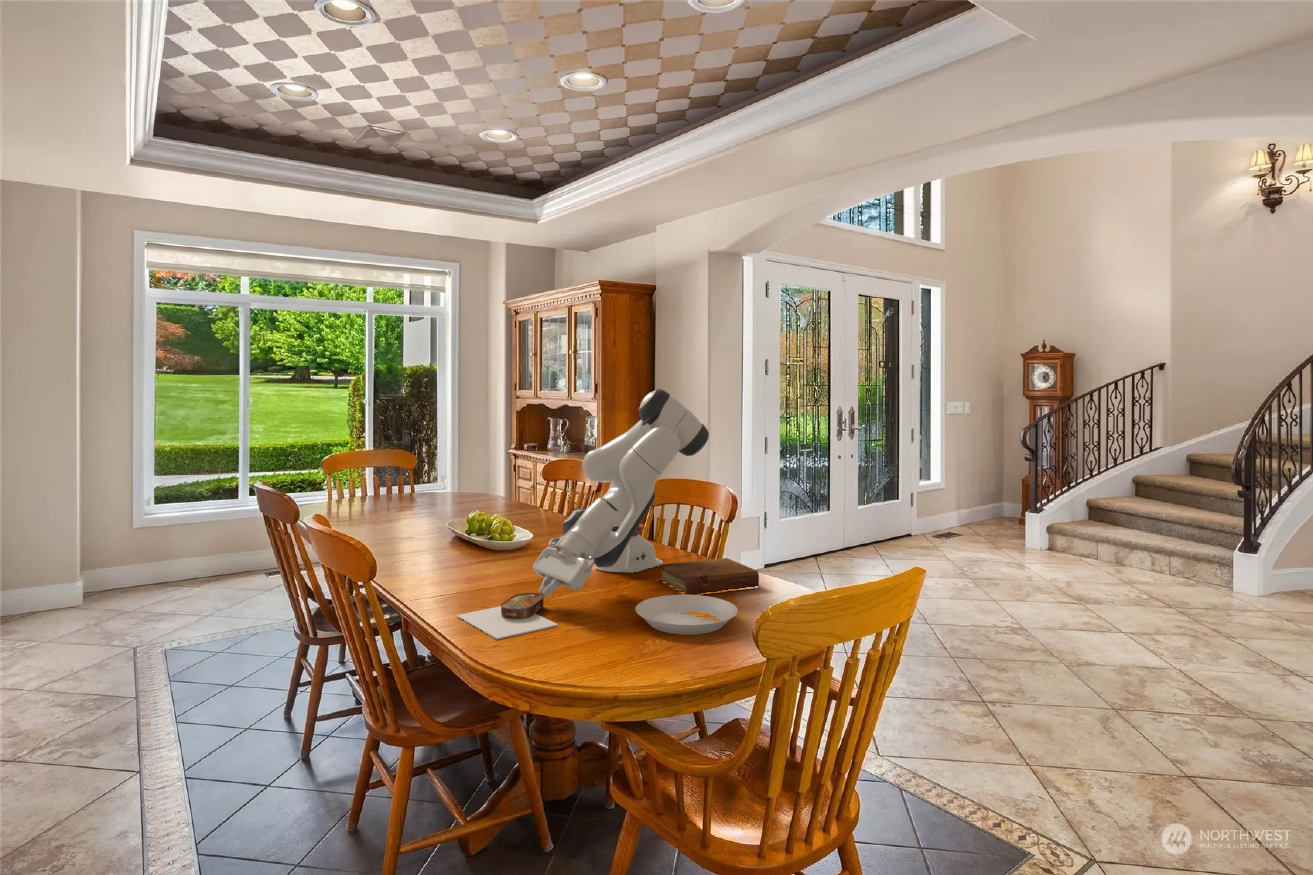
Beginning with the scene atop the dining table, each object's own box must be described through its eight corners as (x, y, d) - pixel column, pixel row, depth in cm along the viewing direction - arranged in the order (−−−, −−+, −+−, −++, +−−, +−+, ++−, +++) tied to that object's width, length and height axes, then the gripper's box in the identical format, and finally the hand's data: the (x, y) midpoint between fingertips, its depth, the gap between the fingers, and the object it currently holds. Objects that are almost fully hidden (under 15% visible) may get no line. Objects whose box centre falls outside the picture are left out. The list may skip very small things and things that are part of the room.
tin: (527, 609, 175) (494, 605, 176) (526, 622, 175) (494, 617, 177) (548, 593, 189) (518, 589, 191) (548, 605, 190) (518, 601, 191)
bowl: (620, 614, 182) (620, 600, 182) (708, 603, 192) (708, 590, 192) (659, 646, 159) (659, 630, 159) (757, 632, 169) (757, 617, 169)
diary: (686, 600, 197) (686, 579, 197) (659, 583, 214) (659, 564, 214) (758, 590, 206) (758, 570, 206) (727, 575, 223) (727, 557, 223)
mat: (514, 605, 189) (514, 603, 189) (558, 625, 172) (558, 624, 172) (456, 616, 179) (456, 615, 179) (496, 639, 162) (496, 638, 162)
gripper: (604, 565, 181) (571, 611, 176) (562, 551, 197) (530, 593, 192) (589, 550, 178) (555, 596, 173) (548, 537, 194) (515, 579, 189)
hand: (542, 594), depth 182 cm, fingers closed
